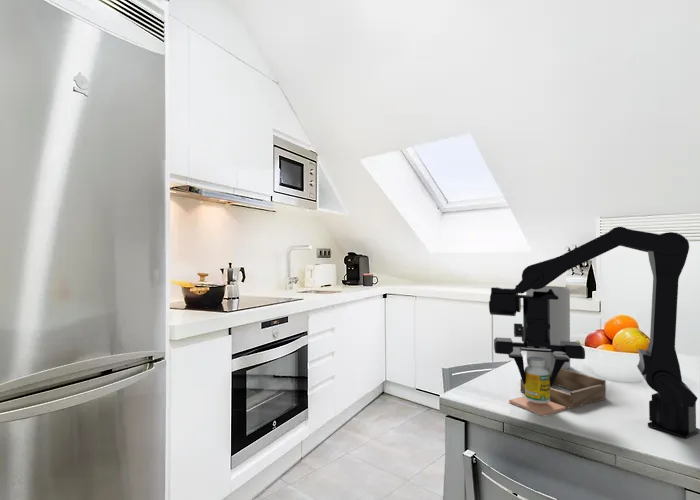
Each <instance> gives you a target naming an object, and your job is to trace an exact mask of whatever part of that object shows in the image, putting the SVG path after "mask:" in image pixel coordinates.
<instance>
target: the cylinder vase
mask: <svg viewBox="0 0 700 500" xmlns="http://www.w3.org/2000/svg"><path fill="white" fill-rule="evenodd" d="M549 289H552V290H553V291H554V292H555V293H556V294H557V295H558V296H559V299H558V300H552V299H550V344H555V345H560V342H561V341H571V305H570V304H571V294H570V293H571V292H570V290H571V288H570V287H567V286H557V285H554V286H553V285H546V286H545V287H543V288H541V289H536V290H535V289H530V290H528V291H526V292H525V295H533V292H534V291H542V292H547V291H549ZM532 348H533V347H532ZM528 357H541V358H545V359H546V363H547V365H546V366H545V367H546V368H547V369H548V370H549V371H550V365H551V352H535V351H526V361H527V360H528ZM568 358H569V357H568ZM569 360H570V361H569V362H565V363H564V364H563V366H562V367H561V369H565V370H568V369H570V367H571V358H569Z"/></svg>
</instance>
